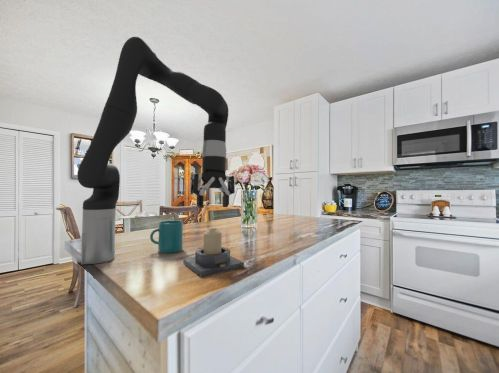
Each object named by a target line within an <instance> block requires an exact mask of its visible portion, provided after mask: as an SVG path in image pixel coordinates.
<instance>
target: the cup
mask: <svg viewBox="0 0 499 373" xmlns="http://www.w3.org/2000/svg"><path fill="white" fill-rule="evenodd" d="M157 232H158V239H157V240H158V241H156V240H155V239H154V234H155V233H157ZM149 236H150V237H149V239H150V241H151V242H152V244H155V245H157V246H158V248H157V249H158V252H159V253H161V254H174V253H179V252H181V251H182V250H183V247H184V246H183V245H184V238H183V237H184V222H183V221H182V220H163V221H159V222H158V228H156V229H154V230H152V231H151V233H150V235H149Z"/></svg>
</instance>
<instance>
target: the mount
mask: <svg viewBox="0 0 499 373" xmlns="http://www.w3.org/2000/svg"><path fill="white" fill-rule="evenodd" d="M182 263H183V265H185V267H187V268H188V269H190V270H191V271H192V272H194V274H197V275H198V276H199V277H200V278H204V277H208V276H213V275H217V274H220V273H225V272H228V271H233V270H237V269H241V268H245V262H244V261H242V260H240V259H238V258H236V257H233V256H231V249H228V248H226V247H222V246H221V253H220V254H204V247H203V248H201V247H200V248H199V249H197V250H196V251H195V254H194V256H193V257H186V258H183V262H182Z"/></svg>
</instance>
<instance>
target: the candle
mask: <svg viewBox="0 0 499 373" xmlns="http://www.w3.org/2000/svg"><path fill="white" fill-rule="evenodd" d="M221 247H222V232H221V231H220V230H219V229H218V228H216V227H211V228H207V229H206V230H205V231H204V233H203V248H204V254H220V253H221Z"/></svg>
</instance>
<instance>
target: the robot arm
mask: <svg viewBox="0 0 499 373" xmlns="http://www.w3.org/2000/svg"><path fill="white" fill-rule="evenodd" d="M139 76H141V77H144V78H146V79H148V80H150V81H153V82H155V83H158V84H160V85H162V86H164V87H166V88H167V89H169V90H170V91H172V92H173V93H175V94H176V95H177V96H179V97H180V98H182V99H184V100H185V101H187V102H189V103H190V104H192V105H195V106H198V107H199V108H201V109H202V110H203V111H205V113H207V115H208V116H207V117H208V119H207V123H206V124H205V125H204V126H203V143H202V149H201V150H202V151H201V152H202V153H201V154H202V155H201V156H202V160H201V174H199V172H198V173H192V174H191V183H190V193H191V194H194V195H196V206H197V207H198V208H199V209H203V208H204V197H205V196H204V194H205V192H206V191H207V190H208V189H218V190H219V191H220V192H221V193H222V207H223V208H228V206H230V196H231V195H232V194H233V195H234V194H235V192H236V190H235V189H236V188H235V176H234V175H226V172H227V171H226V170H227V145H226V144H227V142H226V140H227V137H226V136H227V133H226V132H227V130H226V129H227V125H228V120H229V105H228V103H227V101H226V100H225V98H224V97H223V96H222V94H221V92H219V91H217V90H216V89H214V88H213V87H210V86H208V85H205V84H202V83H200V82H199V81H198V80H196V79H194V78H193V77H191V76H189V75H188V74H186V73H184V72H180V71H177V70H174V69H171V68H170V67H169V66H167V65H166V64H165V63H164V62H163V61H161V59H160V58H158V56H157V54H156V53H155V52H154V51H153V50H152V48H151V47H150V46H149V45H148V44H147V43H146V42H145V40H143V39H142V38H141V37H139V36H132V37H129V38H127V40H125V42H124V43H123V46H122V47H121V51H120V54H119V57H118V61H117V66H116V72H115V74H114V79H113V82H112V85H111V88H110V91H109V94H108V96H107V99H106V102H105V103H104V107H103V109H102V113H101V116H100V118H99V122H98V124H97V127H96V130H95V131H94V132H95V133H94V135H93V137H92V140H91V142H90V145H89V146H88V149H87V151H86V152H85V154H84V156H83V158H82V160H81V162H80V165H79V166H78V170H77V181H78V183H79V185H81V186H82V187H83V188H86V189H92V194H91V195H90V196H89V197H88V198H87V199H85V200H84V201H83V202H82V225H81V226H82V227H81V247H80V248H81V253H80V256H81V257H80V265H82V266H83V265H93V264H94V265H95V264H102V263H106V262H109V261H112V260H114V259H115V258H116V257H115V253H116V251H115V250H116V247H115V246H116V214H117V213H116V210H117V209H116V208H117V207H116V206H117V203H118V200H119V196H120V184H121V183H120V182H121V177H120V176H121V175H120V171H119V169H118V167H117V166H116V165H114V164H112V163H110V162H109V161H110V159H111V156H112V154H113V151H114V150H115V148H116V147H117V146H118V145H119V144H120V143H121V142H122V141H123V140H124V139H125V138H126V137H127V136H128V135H129V134H130V132H131V130H132V128H133V126H134V122H135V119H136V117H137V114H138V102H137V92H136V88H137V86H136V85H137V79H138V78H139ZM200 180H201V181H202V183H201V185H200V186H199V181H200ZM225 182H227V185H226V183H225Z"/></svg>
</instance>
